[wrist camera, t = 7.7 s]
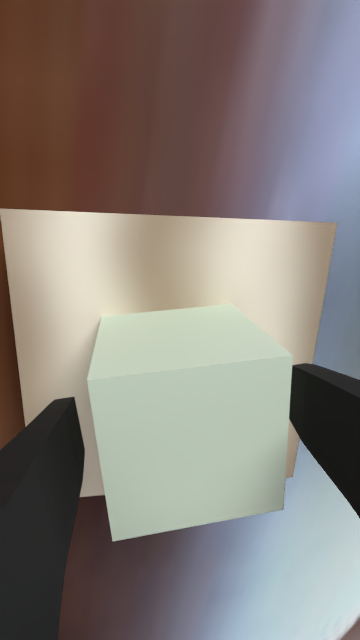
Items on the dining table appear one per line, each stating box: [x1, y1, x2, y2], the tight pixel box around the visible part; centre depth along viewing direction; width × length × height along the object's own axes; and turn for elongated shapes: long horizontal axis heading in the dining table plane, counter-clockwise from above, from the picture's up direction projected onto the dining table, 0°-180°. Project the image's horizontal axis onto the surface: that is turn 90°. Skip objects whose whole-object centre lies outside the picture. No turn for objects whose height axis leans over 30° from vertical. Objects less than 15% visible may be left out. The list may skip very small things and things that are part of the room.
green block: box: [87, 304, 293, 541], centre depth 11 cm, size 5×5×5 cm
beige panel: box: [0, 209, 337, 497], centre depth 15 cm, size 12×12×4 cm
